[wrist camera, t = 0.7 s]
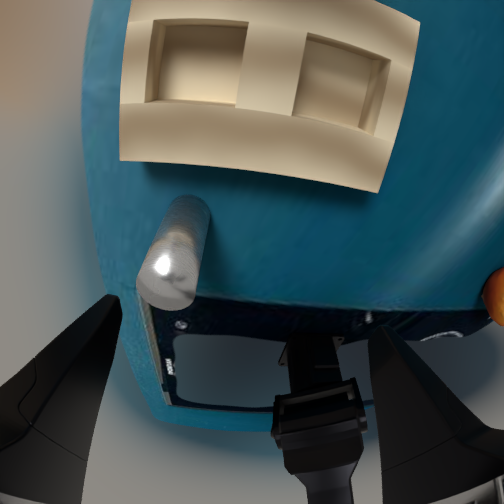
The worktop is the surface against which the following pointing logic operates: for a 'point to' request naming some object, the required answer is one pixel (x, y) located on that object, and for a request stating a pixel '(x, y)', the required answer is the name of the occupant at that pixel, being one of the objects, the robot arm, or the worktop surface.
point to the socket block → (267, 86)
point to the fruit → (495, 296)
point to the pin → (175, 255)
